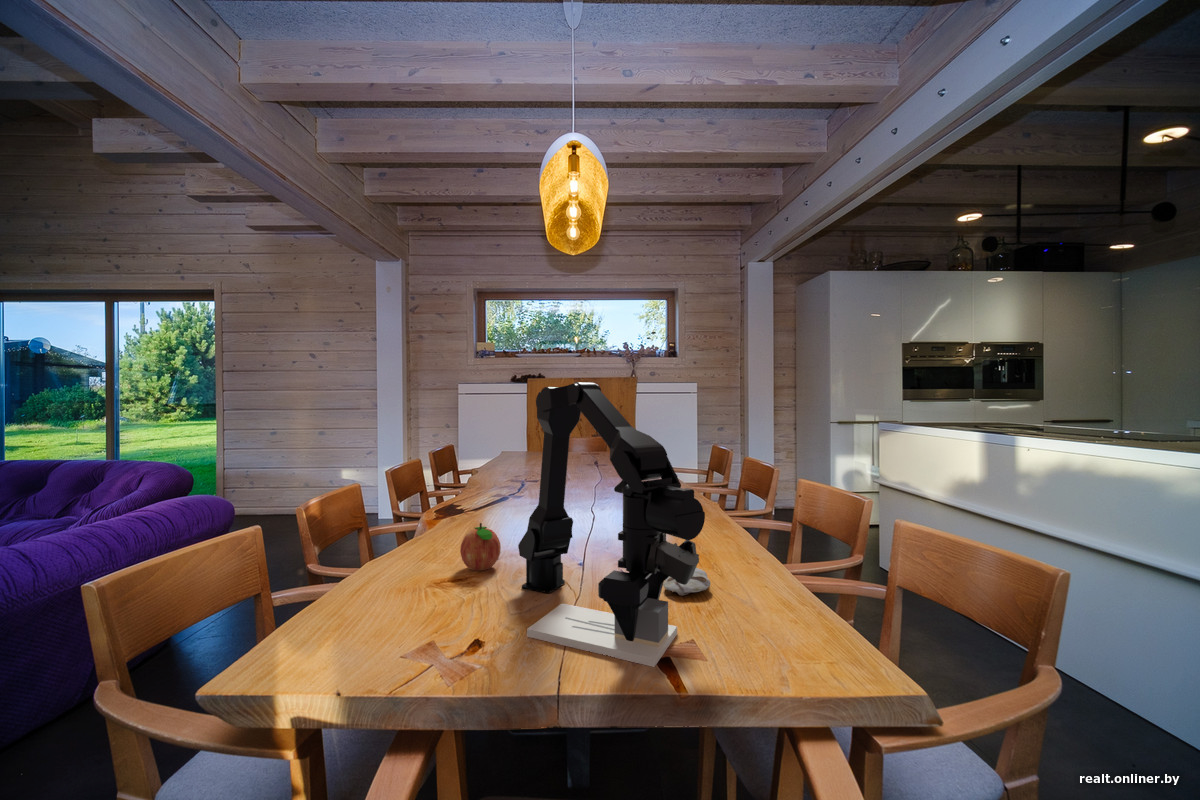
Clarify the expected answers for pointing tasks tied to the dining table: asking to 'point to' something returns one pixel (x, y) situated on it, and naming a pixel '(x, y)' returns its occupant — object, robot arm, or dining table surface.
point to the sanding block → (649, 623)
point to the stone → (689, 583)
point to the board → (595, 634)
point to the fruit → (480, 548)
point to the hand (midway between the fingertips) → (641, 627)
